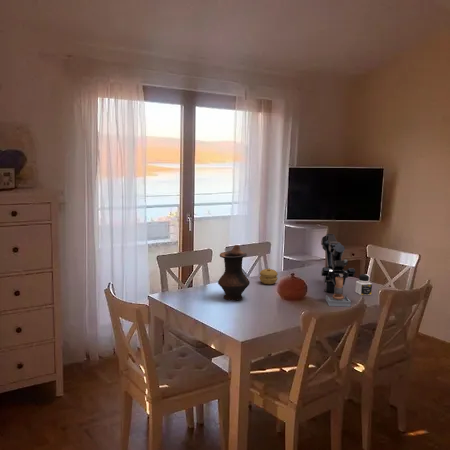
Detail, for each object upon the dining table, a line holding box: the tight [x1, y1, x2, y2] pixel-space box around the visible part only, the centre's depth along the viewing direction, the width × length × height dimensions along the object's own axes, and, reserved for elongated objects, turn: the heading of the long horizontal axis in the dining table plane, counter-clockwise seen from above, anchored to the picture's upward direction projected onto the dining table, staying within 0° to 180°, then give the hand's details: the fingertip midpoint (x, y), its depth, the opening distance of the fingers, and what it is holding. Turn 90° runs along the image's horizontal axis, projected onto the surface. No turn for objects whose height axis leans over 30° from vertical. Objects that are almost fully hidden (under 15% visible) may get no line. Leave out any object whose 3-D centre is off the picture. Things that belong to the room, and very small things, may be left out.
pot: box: [258, 268, 279, 285], centre depth 326 cm, size 12×12×10 cm
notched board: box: [325, 294, 352, 308], centre depth 288 cm, size 12×12×3 cm
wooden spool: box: [332, 276, 345, 300], centre depth 287 cm, size 6×6×12 cm
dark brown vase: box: [217, 244, 251, 301], centre depth 291 cm, size 21×18×30 cm
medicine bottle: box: [355, 273, 373, 296], centre depth 309 cm, size 7×7×12 cm
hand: (339, 284), depth 286 cm, fingers closed on wooden spool, 4 cm apart
